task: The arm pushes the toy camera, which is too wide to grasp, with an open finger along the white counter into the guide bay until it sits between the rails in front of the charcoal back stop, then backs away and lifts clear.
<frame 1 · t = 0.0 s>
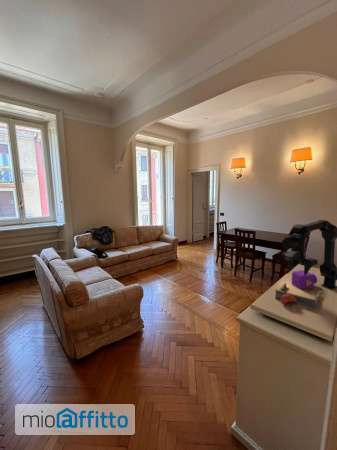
hand: (297, 272, 120), 15 cm above the table, fingers open, 9 cm apart
pomegranate: (288, 306, 112), on the table
guide bay: (298, 295, 122), on the table
toy camera: (304, 286, 134), on the table
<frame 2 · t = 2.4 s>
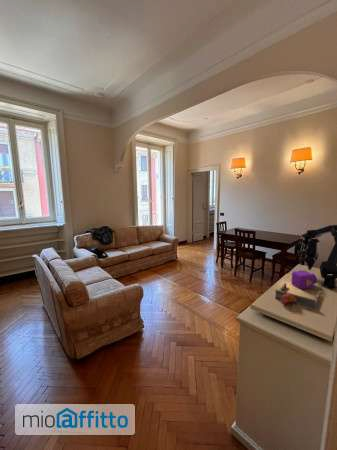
hand: (310, 268, 148), 6 cm above the table, fingers open, 9 cm apart
nothing on the table moved.
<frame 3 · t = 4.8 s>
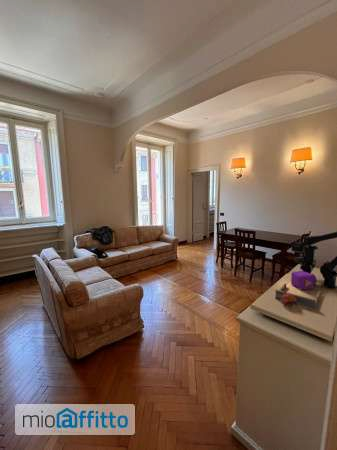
hand: (307, 276, 142), 3 cm above the table, fingers open, 8 cm apart
toy camera: (303, 286, 133), on the table, touching gripper
everything else where it was.
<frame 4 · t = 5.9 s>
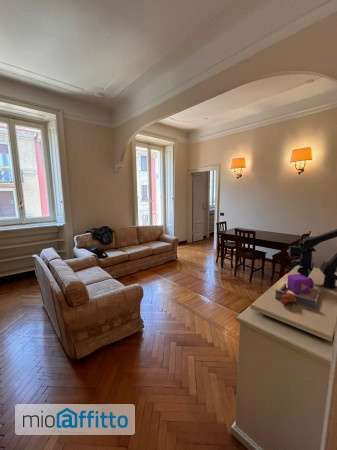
hand: (305, 279, 136), 3 cm above the table, fingers open, 8 cm apart
toy camera: (300, 290, 128), on the table, touching gripper
everything else where it was.
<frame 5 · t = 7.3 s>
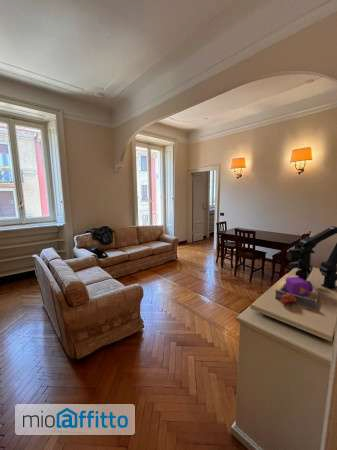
hand: (303, 282, 132), 3 cm above the table, fingers open, 8 cm apart
toy camera: (298, 294, 124), on the table, touching gripper
everything else where it was.
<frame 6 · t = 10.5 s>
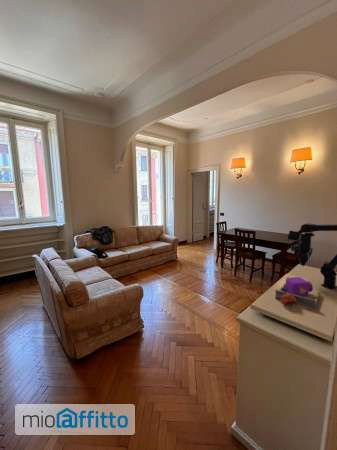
hand: (304, 264, 140), 12 cm above the table, fingers open, 9 cm apart
toy camera: (298, 294, 124), on the table
everything else where it was.
at the end: toy camera 2.9 cm from the guide bay (horizontally); toy camera tilted 0° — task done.
